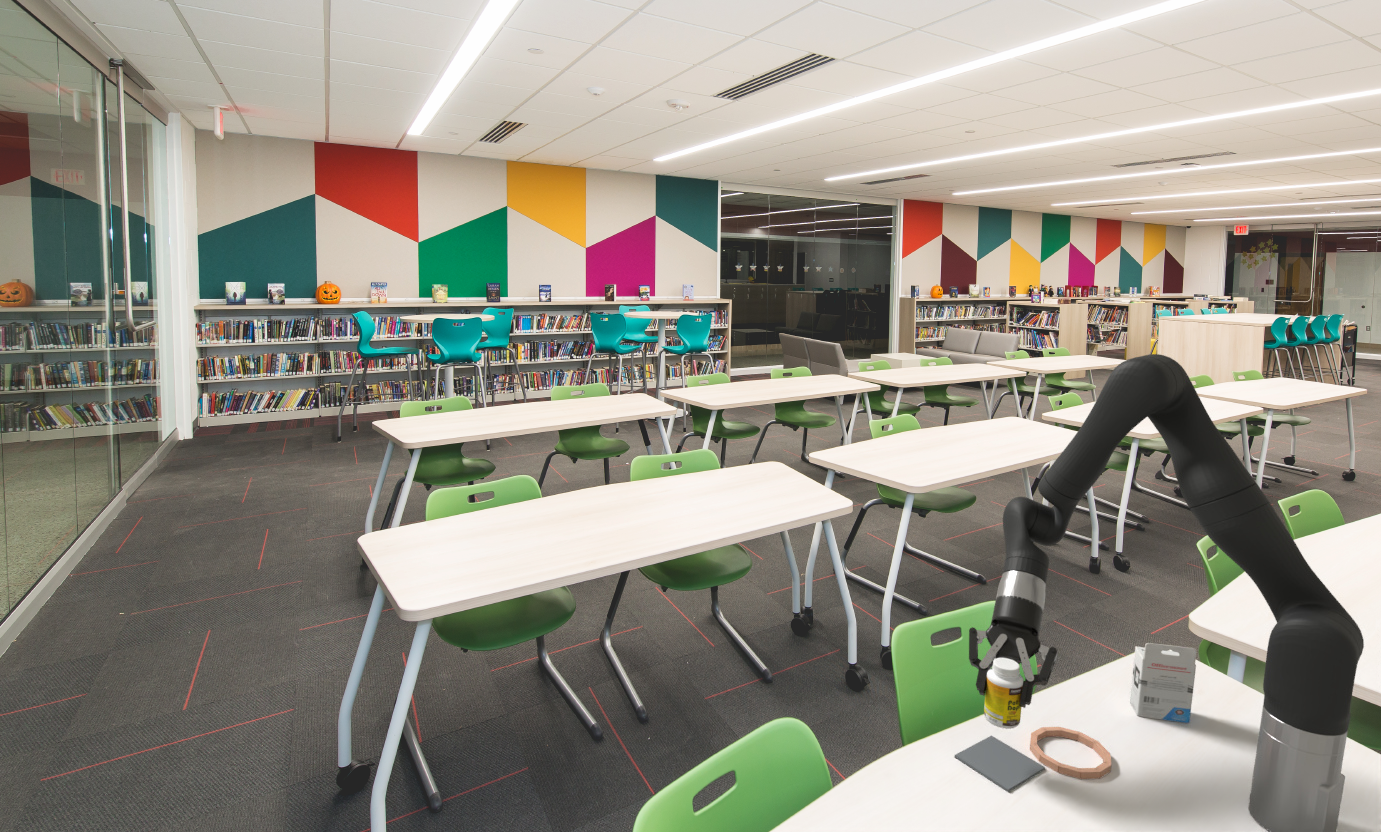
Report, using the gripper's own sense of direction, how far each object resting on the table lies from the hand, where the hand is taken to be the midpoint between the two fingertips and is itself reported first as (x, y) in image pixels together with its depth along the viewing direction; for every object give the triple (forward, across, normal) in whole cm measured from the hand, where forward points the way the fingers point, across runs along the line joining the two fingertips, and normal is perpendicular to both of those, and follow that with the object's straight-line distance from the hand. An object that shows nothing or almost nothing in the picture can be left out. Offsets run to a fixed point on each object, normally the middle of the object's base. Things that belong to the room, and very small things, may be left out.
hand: (1002, 699), depth 113 cm
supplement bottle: (+2, 0, +5) cm, 5 cm away
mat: (+8, 0, +10) cm, 13 cm away
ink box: (-14, +23, +32) cm, 42 cm away
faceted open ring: (+1, +10, +16) cm, 19 cm away
